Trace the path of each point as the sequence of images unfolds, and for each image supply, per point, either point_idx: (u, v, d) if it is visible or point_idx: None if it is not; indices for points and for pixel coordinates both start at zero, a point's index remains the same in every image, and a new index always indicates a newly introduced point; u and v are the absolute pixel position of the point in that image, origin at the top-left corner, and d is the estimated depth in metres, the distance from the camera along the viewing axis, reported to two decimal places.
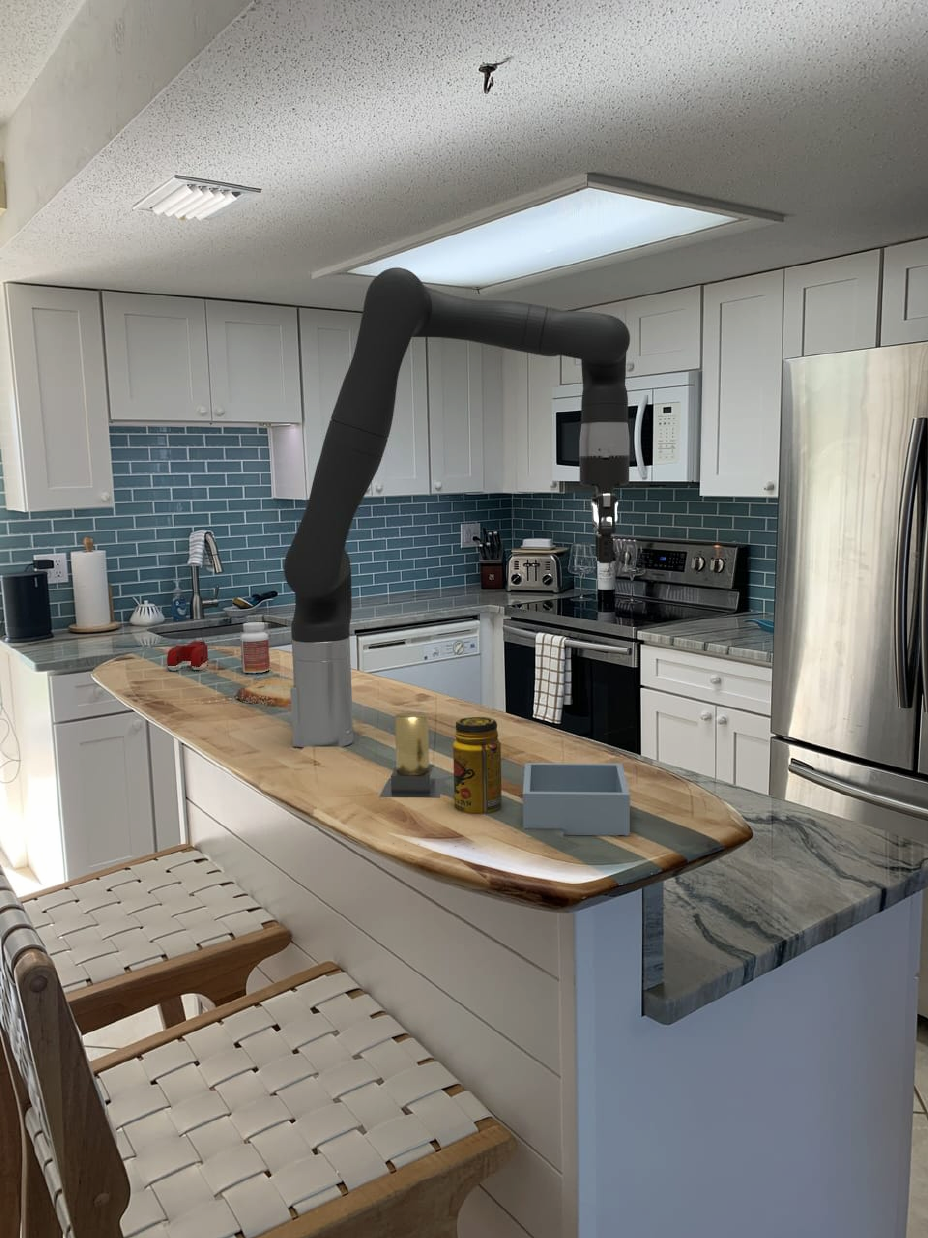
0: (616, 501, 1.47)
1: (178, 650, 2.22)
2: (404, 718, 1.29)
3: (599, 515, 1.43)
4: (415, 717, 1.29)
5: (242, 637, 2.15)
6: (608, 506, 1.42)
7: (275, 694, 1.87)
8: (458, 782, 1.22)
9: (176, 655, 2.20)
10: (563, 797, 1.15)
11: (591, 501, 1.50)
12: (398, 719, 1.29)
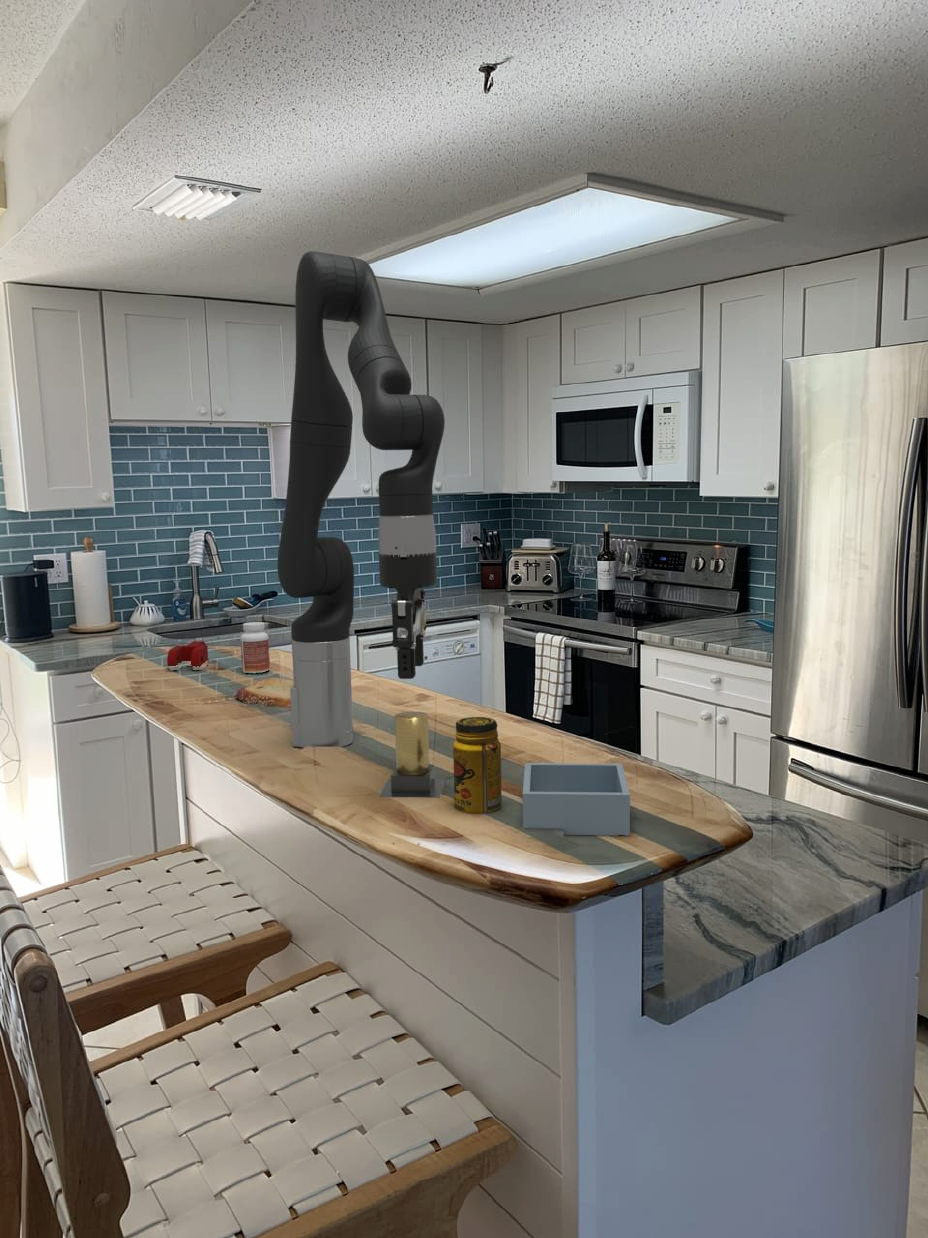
0: (420, 606, 1.26)
1: (178, 650, 2.22)
2: (404, 718, 1.29)
3: (393, 626, 1.22)
4: (415, 717, 1.29)
5: (242, 637, 2.15)
6: (403, 615, 1.22)
7: (275, 694, 1.87)
8: (458, 782, 1.22)
9: (176, 655, 2.20)
10: (563, 797, 1.15)
11: None
12: (398, 719, 1.29)
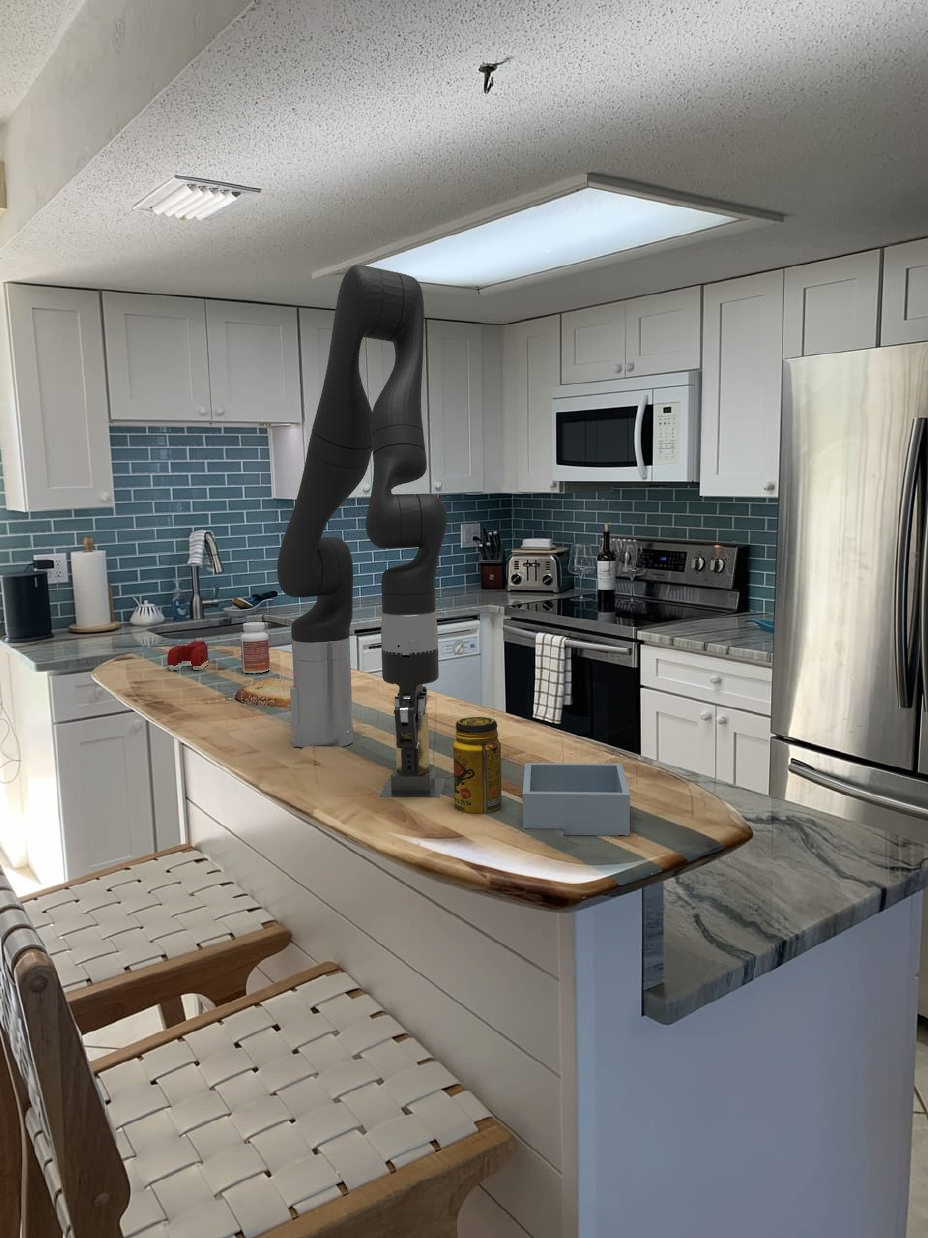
0: (422, 703, 1.28)
1: (178, 650, 2.22)
2: None
3: (397, 731, 1.25)
4: None
5: (242, 637, 2.15)
6: (406, 722, 1.24)
7: (275, 694, 1.86)
8: (458, 782, 1.22)
9: (176, 655, 2.21)
10: (563, 797, 1.15)
11: None
12: None
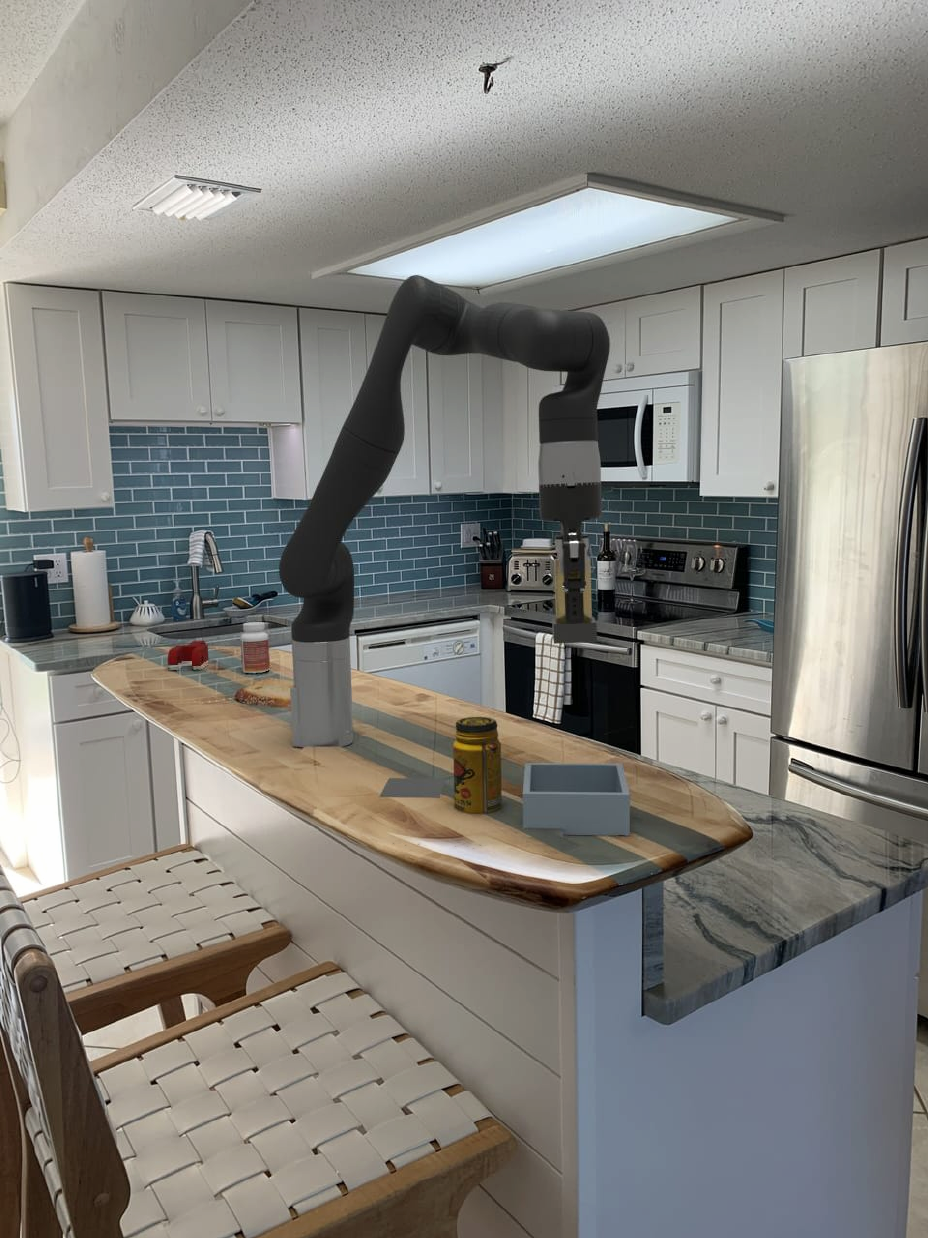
0: (586, 542, 1.17)
1: (179, 650, 2.22)
2: None
3: (565, 569, 1.14)
4: None
5: (242, 637, 2.15)
6: (576, 558, 1.13)
7: (275, 695, 1.86)
8: (458, 782, 1.22)
9: (177, 655, 2.21)
10: (563, 797, 1.15)
11: (555, 538, 1.20)
12: None
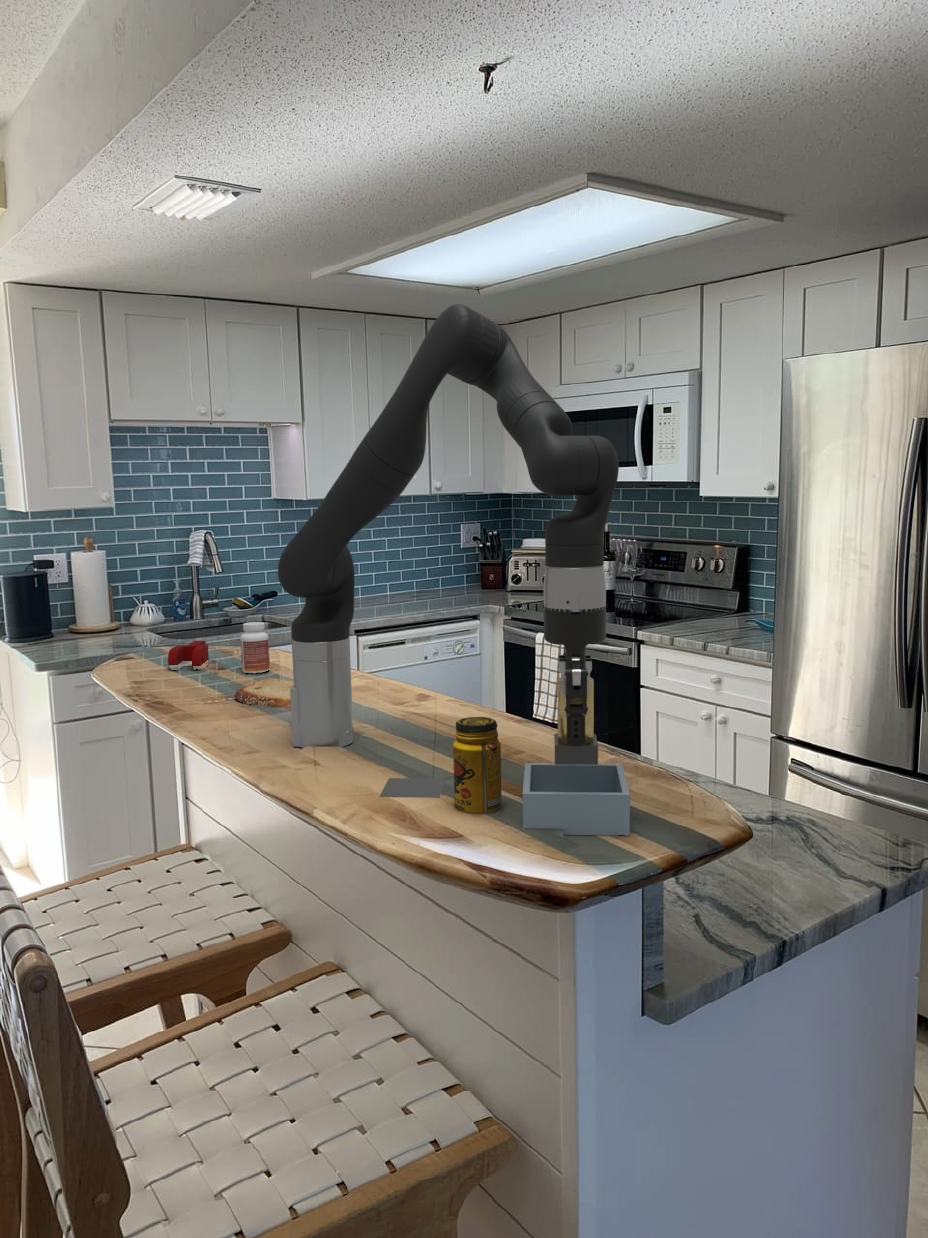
0: (589, 665, 1.17)
1: (179, 650, 2.23)
2: None
3: (567, 695, 1.14)
4: None
5: (242, 637, 2.15)
6: (578, 685, 1.13)
7: (274, 695, 1.86)
8: (458, 782, 1.22)
9: (177, 655, 2.21)
10: (563, 797, 1.15)
11: (559, 658, 1.20)
12: None
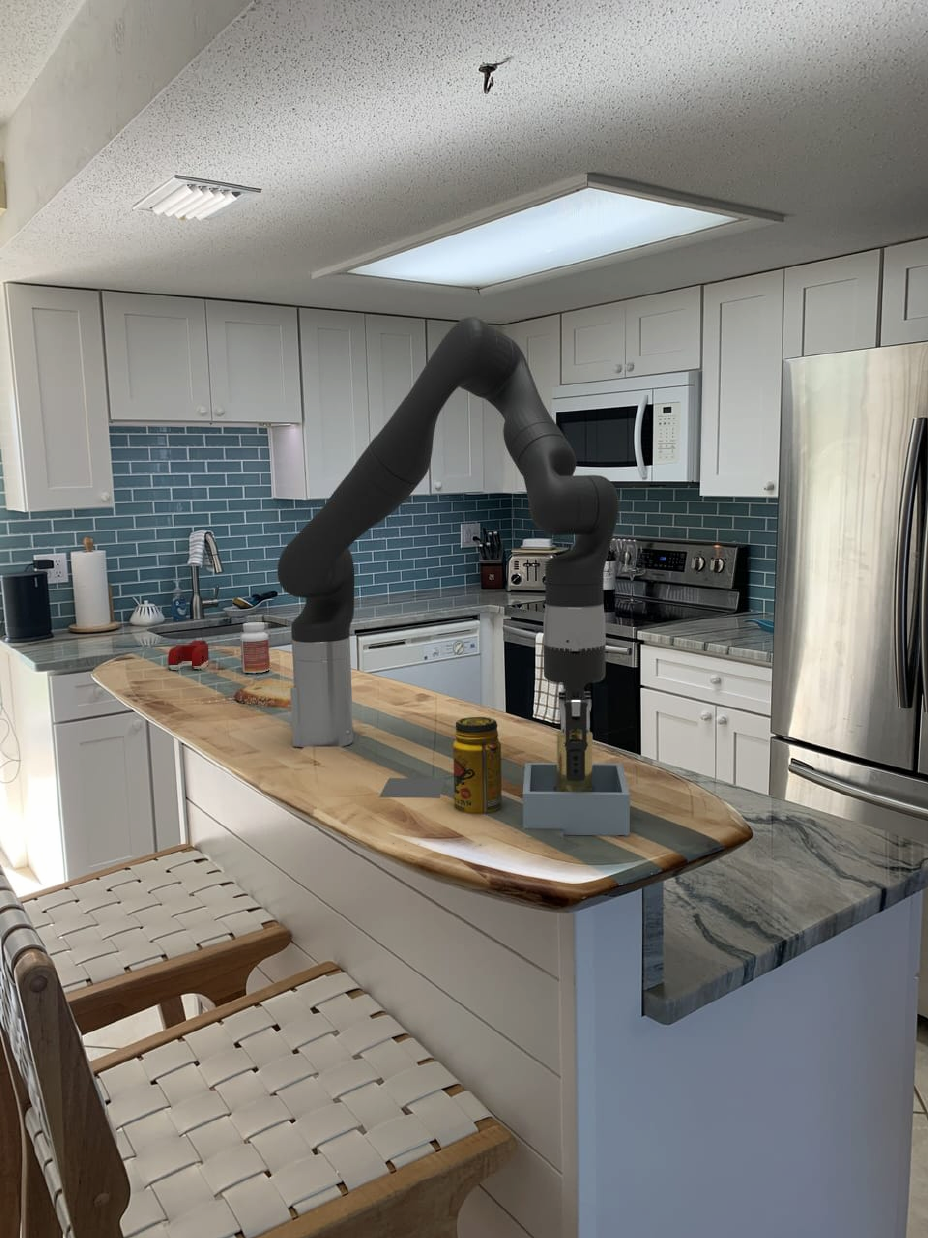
0: (589, 702, 1.18)
1: (179, 649, 2.23)
2: None
3: (566, 727, 1.13)
4: (580, 736, 1.19)
5: (242, 637, 2.15)
6: (578, 716, 1.13)
7: (274, 695, 1.86)
8: (458, 782, 1.22)
9: (177, 654, 2.21)
10: (563, 797, 1.15)
11: None
12: (562, 738, 1.19)
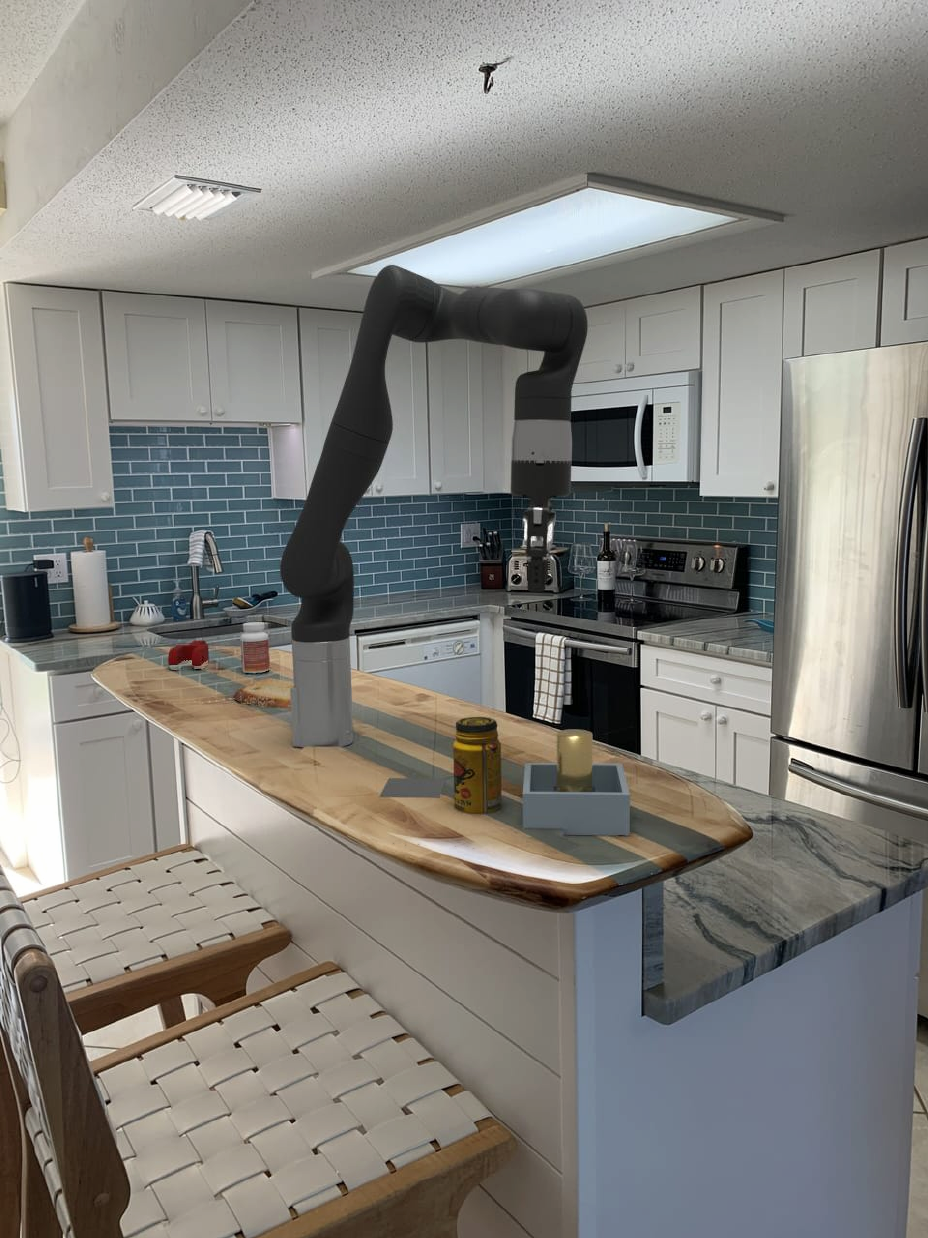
0: (553, 516, 1.21)
1: (179, 649, 2.23)
2: (569, 737, 1.19)
3: (528, 534, 1.16)
4: (580, 736, 1.19)
5: (242, 637, 2.15)
6: (539, 523, 1.16)
7: (274, 695, 1.86)
8: (458, 782, 1.22)
9: (177, 654, 2.21)
10: (563, 797, 1.15)
11: None
12: (562, 738, 1.19)
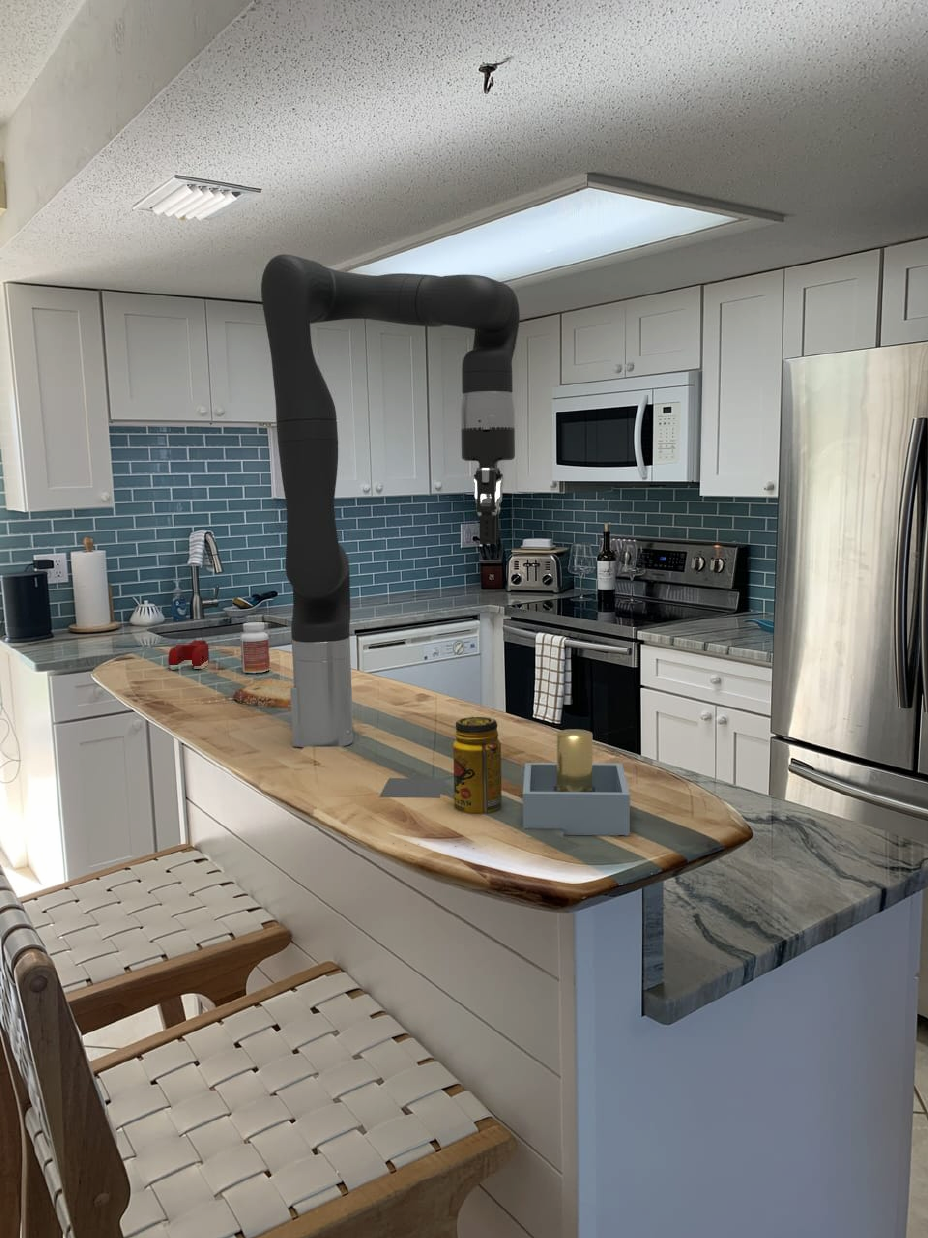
0: (500, 477, 1.36)
1: (179, 649, 2.23)
2: (569, 737, 1.19)
3: (477, 491, 1.32)
4: (580, 736, 1.19)
5: (242, 637, 2.15)
6: (487, 482, 1.31)
7: (274, 695, 1.86)
8: (458, 782, 1.22)
9: (177, 654, 2.21)
10: (563, 797, 1.15)
11: None
12: (562, 738, 1.19)
